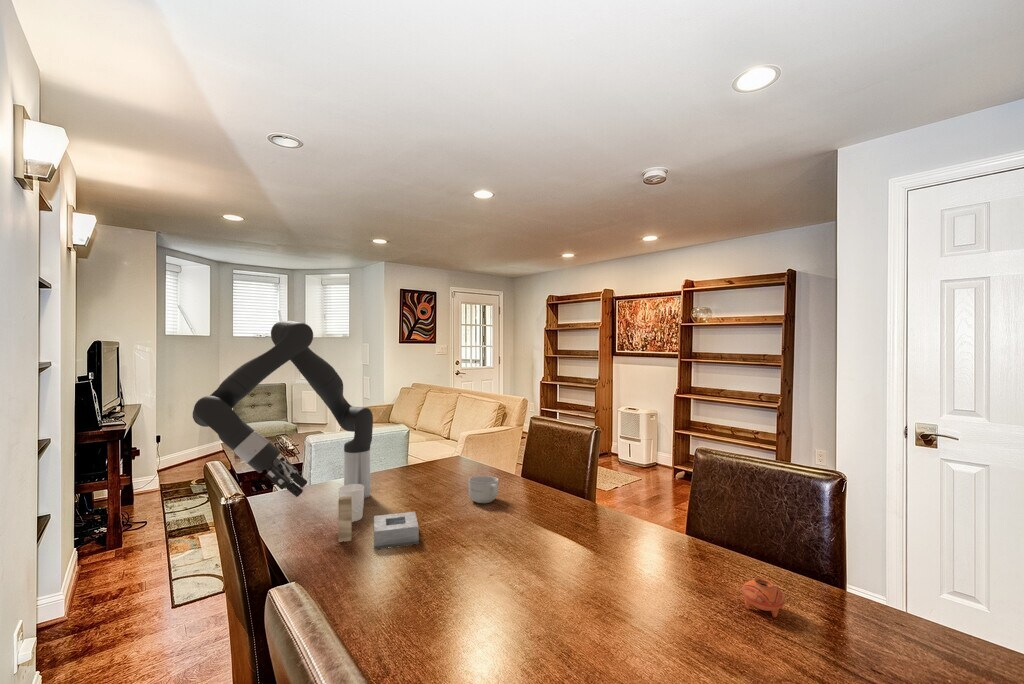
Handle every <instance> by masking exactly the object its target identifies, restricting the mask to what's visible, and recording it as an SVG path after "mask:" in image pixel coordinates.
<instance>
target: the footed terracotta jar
mask: <svg viewBox="0 0 1024 684" xmlns="http://www.w3.org/2000/svg"><path fill="white" fill-rule="evenodd" d="M741 592H742V595H743V597H744V605H745V607H746V609H748V610H750V607H751V605H752V606H754V607H755V608H757V609H759V610H762V611H766V612H767V611H768V612H771V614H772V618H776V617H778V614H779V611H780V609H781V608H782V607H783V606H784V605H785V602H786V598H785V596H784V594H783V593H782V591H781V590H780V589H779V588H778V587H777V586H776V585H774V583H773V582H772V581H770V580H769V579H765V578H762V577H755V578H753V579H749V580H747V581H746V582H745V583H744V584H743V585H742V587H741Z"/></svg>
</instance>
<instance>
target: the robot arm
mask: <svg viewBox="0 0 1024 684" xmlns="http://www.w3.org/2000/svg"><path fill="white" fill-rule="evenodd" d="M270 337H271V341H272V343H273V345H274V346H273V347H272V348H270V349H269V350H267V351H265V352H264V353H261V354H260V355H258V356H257V357H254V358H252V359H251V360H250V359H249V361H246V362H245V363H243V364H242V365H241V366H239V367H238V368H236V369H235V370H234V371H233V372H232V373H231V374H230V375H228V376H227V377H226V378H225V379H224V380H223V381H222V382H221V383H220V384H219V385H218V387H217V388H216V390H214V391H213V392H212V393H211V394H210V395H206V396H203V397H201V398H200V399H198V400H197V401H196V402H195V404H194V406H193V410H192V419H193V421H194V423H195V424H197V425H199V427H203V428H204V427H206V428H207V427H209V429H212V430H213V431H214V432H215V433H216V434H217V436H218V437H219V439H220V441H221V442H222V443H223V444H225V445H226V446H227V447H228V448H229V449H230V450H232V451H233V452H234V453H235V455H237V456H238V457H239V458H240V459H241V460H242V461H243V462H245V463H246V464H247V465H248V466H250V467H251V468H252V469H253V470H254V471H256V472H257V473H259V474H261V473H262V472H264V470H266V472H267V473H266V474H265V478H267V479H268V480H270V481H271V482H272V483H273V484H274V485H275V486H277V487H278V488H279V489H280V490H287V491H289V493H291V494H292V495H293V496H295V498H297V497H299V496H300V495H301V494H302V493H303V491H304V490H303V489H302V488H304V487H305V486H306V485H307V483H308V480H307V479H305V478H304V477H303V476H302V475H301V474H300V473H299V471H298V468H297V467H296V466H295V465H293V464H292V462H290V461H289V460H287V459H286V458H285V457H283V456H282V457H280V458H278V457H279V456H280V455H281V453H282V451H281V449H279V448H278V447H277V446H275V444H273V443H272V442H271V441H269V440H268V439H267V438H266V437H264V436H263V435H262V434H260V433H259V432H257V431H255V429H254V428H252V427H251V425H248V424H247V423H246V422H245V421H243V420H242V419H241V418H240V416H239V415H238V414H237V413H236V412H235V411H234V410H233V409H234V407H235V406H236V405H237V404H238V403H239V402H240V401H241V400H243V399H244V398H245V397H247V396H248V395H249V394H250V393H251V392H252V391H253V390H254V389H255V388H256V387H257V386H259V384H260V383H261V382H263V381H264V380H265V379H266V378H268V377H269V376H270V375H271V374H272V373H274V372H275V371H277V370H278V369H279V368H280V367H282V366H283V365H284V364H286V363H288V362H289V361H290V362H292V364H293V365H294V366H295V367H296V369H297V370H298V372H299V373H300V374H301V375H302V377H304V379H305V380H306V381H307V382H308V384H309V386H310V387H311V388H312V389H313V391H314V392H315V393H316V394H317V395H318V397H319V398H320V399H321V400H322V401H323V403H324V404H325V405H326V406H327V408H328V410H330V411H331V414H332V415H333V417H334V419H335V421H336V422H337V423H338V425H339V426H340V427H341V429H342V430H343V431H345V432H346V431H347V432H352V433H353V434H354V436H353V439H352V440H349V441H347V442H345V443H344V445H343V460H344V461H343V475H344V476H343V479H344V480H343V486H345V485H350V484H361V485H364V500H365V499H367V497H368V498H369V497H371V445H372V440H373V430H374V429H373V427H374V418H373V417H374V416H373V412H372V410H371V408H368V407H366V406H353V405H351V404H350V403H349V402H348V401H347V399H346V398H345V396H344V383H343V380H342V378H341V376H340V375H339V373H338V371H336V369H335V368H334V367H333V365H331V364H330V363H329V362H328V361H326V360H325V359H324V358H323V357H321V356H319V355H318V354H316V353H315V352H314V351H313V350H312V349H310V348H309V347H310V346H311V344H312V342H313V340H314V332H313V329H312V327H311V326H310V325H308V324H307V323H304V322H300V321H292V320H280V321H278V322H277V321H276V323H274V324H273V326H272V327H271V331H270Z"/></svg>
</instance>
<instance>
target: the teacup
mask: <svg viewBox="0 0 1024 684" xmlns="http://www.w3.org/2000/svg"><path fill="white" fill-rule="evenodd" d="M498 494H499V478H498V477H495V476H492V475H491V476H490V475H475V476H471V477H469V478H468V496H469V498H470V499H471V500H473V502H475V503H477V504H488V503H492V502H493V501H494V500H495V499H496V498H497V496H498Z"/></svg>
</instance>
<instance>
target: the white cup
mask: <svg viewBox="0 0 1024 684" xmlns="http://www.w3.org/2000/svg"><path fill="white" fill-rule="evenodd" d="M347 495H352V523H354V521H355V522H357V521H360V520H362V518H363V516H364V514H363V513H364V505H365V504H364V502H365V499H364V485H361V484H350V485H345V486H344V485H342V486H339V488H338V497H339V496H347Z"/></svg>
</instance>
